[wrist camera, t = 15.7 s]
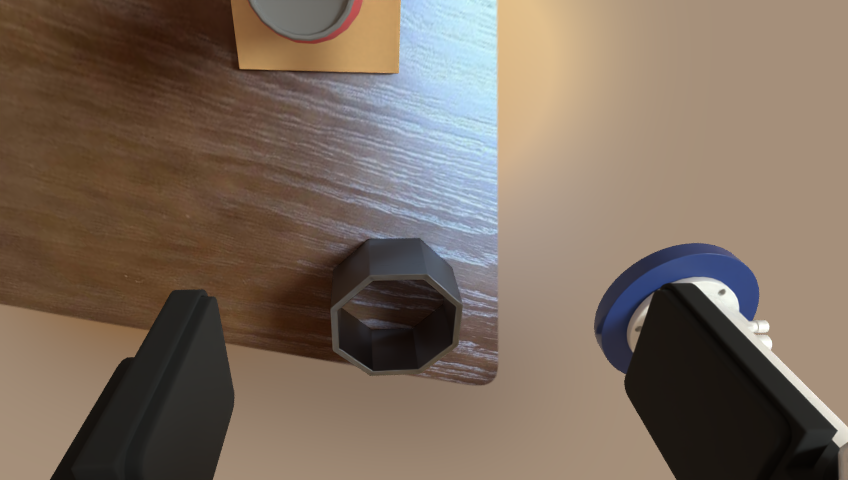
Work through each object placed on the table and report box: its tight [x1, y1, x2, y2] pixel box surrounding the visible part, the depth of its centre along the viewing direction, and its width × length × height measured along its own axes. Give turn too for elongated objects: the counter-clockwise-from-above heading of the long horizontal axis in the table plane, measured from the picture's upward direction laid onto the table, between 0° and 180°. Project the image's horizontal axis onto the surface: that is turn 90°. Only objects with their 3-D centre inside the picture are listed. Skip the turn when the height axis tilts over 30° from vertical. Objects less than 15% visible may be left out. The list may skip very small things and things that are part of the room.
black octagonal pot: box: [330, 238, 463, 376], centre depth 48 cm, size 12×12×6 cm
